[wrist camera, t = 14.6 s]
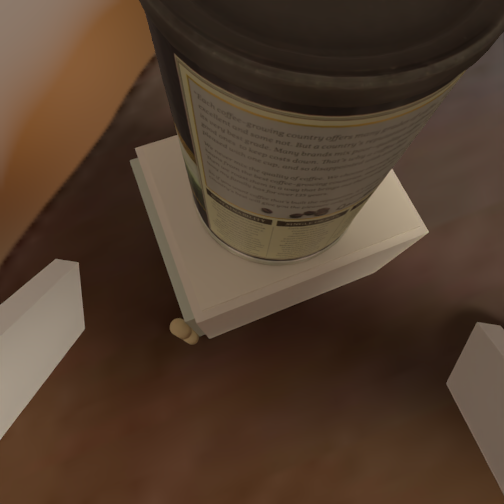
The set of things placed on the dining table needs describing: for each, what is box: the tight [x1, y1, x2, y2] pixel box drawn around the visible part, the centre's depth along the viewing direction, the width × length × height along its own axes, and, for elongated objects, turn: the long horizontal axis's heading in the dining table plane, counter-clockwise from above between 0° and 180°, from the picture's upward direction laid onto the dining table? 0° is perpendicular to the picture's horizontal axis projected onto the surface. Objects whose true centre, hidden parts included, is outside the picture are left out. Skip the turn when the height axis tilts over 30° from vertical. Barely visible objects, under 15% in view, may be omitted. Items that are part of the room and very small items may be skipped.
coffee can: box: [139, 0, 504, 265], centre depth 16 cm, size 10×10×14 cm
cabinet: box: [129, 135, 429, 345], centre depth 27 cm, size 12×17×10 cm
